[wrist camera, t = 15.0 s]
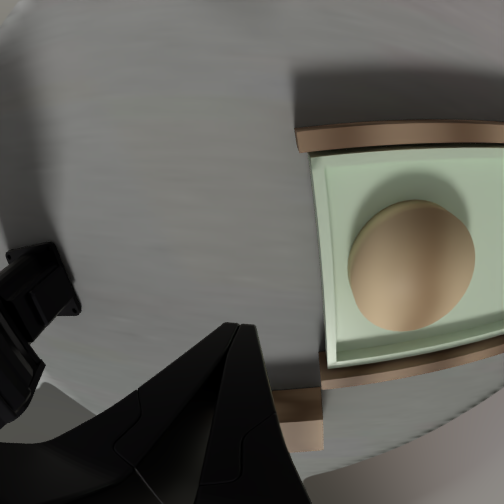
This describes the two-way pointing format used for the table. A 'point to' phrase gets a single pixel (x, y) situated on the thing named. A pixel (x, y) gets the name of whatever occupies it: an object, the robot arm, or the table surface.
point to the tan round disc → (410, 265)
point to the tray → (393, 191)
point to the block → (300, 418)
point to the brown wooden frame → (390, 135)
